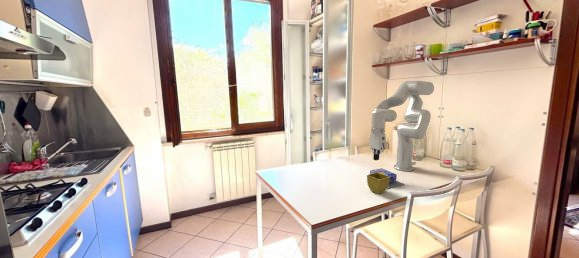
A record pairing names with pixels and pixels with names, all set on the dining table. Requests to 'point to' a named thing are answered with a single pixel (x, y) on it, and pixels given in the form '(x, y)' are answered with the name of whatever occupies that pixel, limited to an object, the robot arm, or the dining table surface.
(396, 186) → the mat
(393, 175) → the ink cartridge box
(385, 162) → the dining table surface
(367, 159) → the dining table surface
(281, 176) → the dining table surface
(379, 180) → the flower pot
